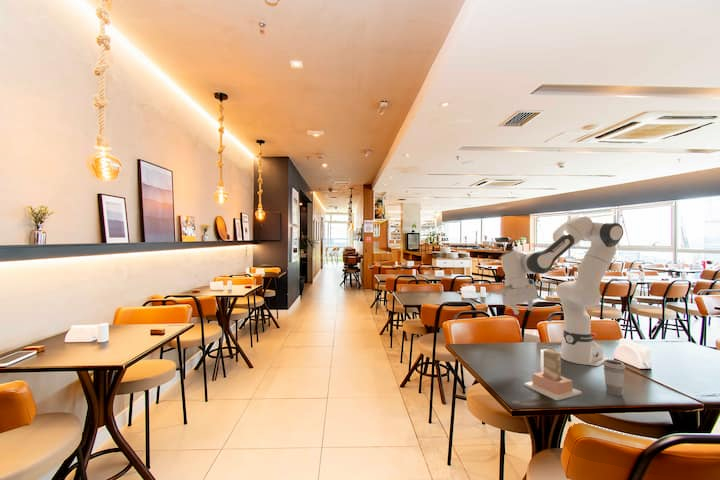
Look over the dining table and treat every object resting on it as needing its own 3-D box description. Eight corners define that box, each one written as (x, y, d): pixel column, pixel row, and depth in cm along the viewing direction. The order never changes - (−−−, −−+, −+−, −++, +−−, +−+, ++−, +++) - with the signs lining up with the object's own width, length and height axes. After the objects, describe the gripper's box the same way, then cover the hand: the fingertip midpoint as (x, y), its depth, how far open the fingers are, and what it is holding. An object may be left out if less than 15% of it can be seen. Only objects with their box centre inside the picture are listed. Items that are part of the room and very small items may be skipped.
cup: (623, 391, 126) (623, 361, 127) (627, 398, 121) (627, 366, 121) (601, 387, 130) (601, 357, 130) (603, 394, 124) (603, 363, 124)
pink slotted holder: (548, 380, 137) (548, 368, 137) (581, 394, 124) (581, 381, 124) (524, 385, 132) (524, 373, 132) (556, 400, 119) (556, 386, 119)
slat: (548, 384, 131) (548, 349, 131) (560, 389, 126) (560, 353, 126) (543, 385, 130) (543, 350, 130) (555, 390, 125) (555, 354, 125)
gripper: (506, 286, 149) (514, 316, 147) (536, 279, 157) (543, 308, 155) (496, 287, 154) (503, 316, 152) (525, 280, 163) (532, 308, 161)
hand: (523, 312), depth 154 cm, fingers open, 8 cm apart
